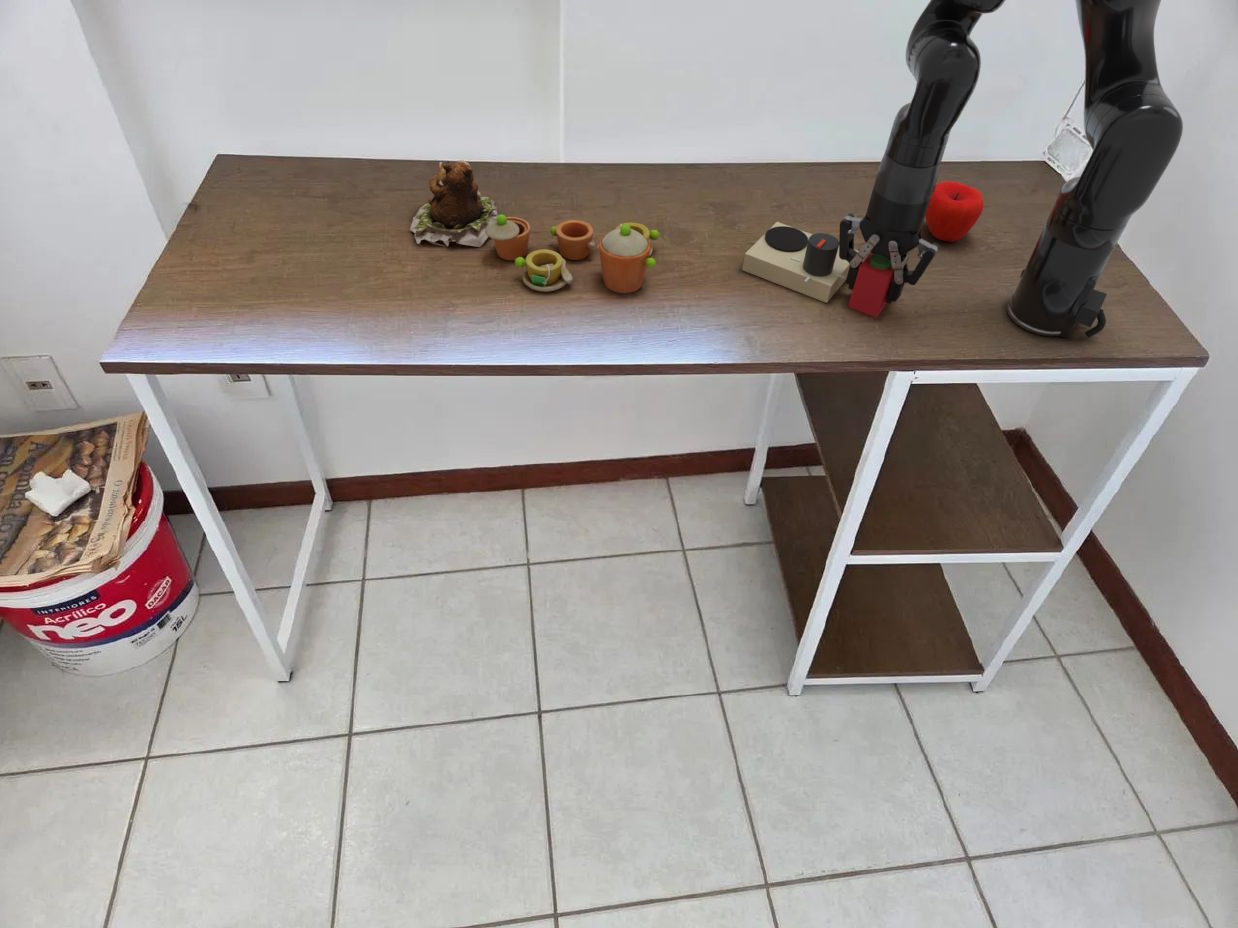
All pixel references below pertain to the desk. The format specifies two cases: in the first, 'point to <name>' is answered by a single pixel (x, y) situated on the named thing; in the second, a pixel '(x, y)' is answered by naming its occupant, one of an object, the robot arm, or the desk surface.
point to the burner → (786, 239)
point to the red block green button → (872, 285)
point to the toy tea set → (576, 252)
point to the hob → (793, 269)
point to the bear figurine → (454, 208)
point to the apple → (953, 210)
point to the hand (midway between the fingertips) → (871, 293)
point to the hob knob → (820, 254)
